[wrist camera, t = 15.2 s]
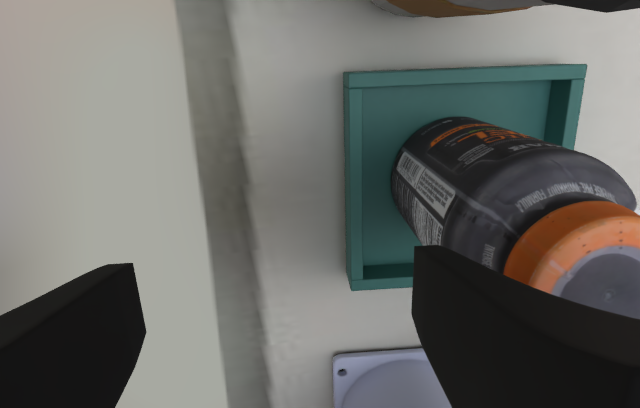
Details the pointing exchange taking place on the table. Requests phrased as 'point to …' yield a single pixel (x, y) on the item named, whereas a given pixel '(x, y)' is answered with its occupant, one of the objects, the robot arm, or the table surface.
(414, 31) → the table surface
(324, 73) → the table surface
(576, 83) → the tray
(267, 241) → the table surface
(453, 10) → the coffee cup
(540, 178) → the pill bottle
